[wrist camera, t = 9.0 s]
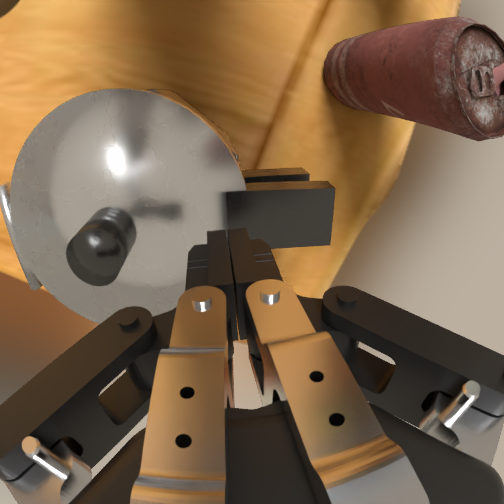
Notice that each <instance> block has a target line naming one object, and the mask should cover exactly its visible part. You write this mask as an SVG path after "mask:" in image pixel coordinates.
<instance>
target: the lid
mask: <svg viewBox="0 0 504 504" xmlns="http://www.w3.org/2000/svg"><path fill="white" fill-rule="evenodd" d="M334 198H335V188H334V187H333V186H332V185H331V184H330V183H329V182H328V181H288V182H261V183H245V180H244V177H243V174H242V172H241V169H240V167H239V165H238V162H237V160H236V158H235V157H234V155H233V153H232V152H231V150H230V148H229V147H228V145H227V144H226V142H225V141H224V140H223V139H222V137H221V136H220V135H219V134H218V132H217V131H216V130H215V129H214V128H213V127H212V126H211V125H210V124H209V123H208V122H207V121H206V120H205V119H204V118H202V117H201V116H200V115H199V114H197V113H196V112H194V111H193V110H191V109H190V108H189V107H187V106H186V105H184V104H182V103H180V102H178V101H176V100H174V99H172V98H169V97H167V96H164V95H161V94H157V93H154V92H151V91H145V90H138V89H105V90H99V91H94V92H89V93H86V94H83V95H80V96H78V97H75V98H72V99H71V100H69V101H67V102H65V103H63V104H62V105H60V106H58V107H57V108H56V109H54V110H53V111H52V112H50V113H49V114H48V115H47V116H45V117H44V118H43V119H42V121H41V122H40V123H39V124H38V125H37V126H36V127H35V128H34V129H33V131H32V132H31V134H30V135H29V137H28V138H27V140H26V141H25V143H24V145H23V147H22V149H21V151H20V153H19V155H18V158H17V161H16V164H15V167H14V170H13V175H12V180H11V186H10V182H9V181H8V182H5V183H2V184H0V207H1V210H2V213H3V217H4V220H5V223H6V226H7V229H8V232H9V235H10V238H11V241H12V244H13V246H14V249H15V252H16V254H17V257H18V259H19V262H20V264H21V267H22V269H23V272H24V274H25V276H26V279H27V281H28V283H29V285H30V287H31V289H32V290H36V289H39V288H40V287H41V286H42V285H43V286H44V287H45V288H46V289H47V290H48V291H49V292H50V293H51V294H52V295H53V296H54V297H55V298H56V299H57V300H59V301H60V302H61V303H63V304H64V305H65V306H66V307H68V308H69V309H71V310H73V311H74V312H76V313H78V314H79V315H81V316H83V317H85V318H87V319H89V320H91V321H93V322H96V323H98V324H101V323H102V322H103V321H105V320H106V319H107V318H109V317H110V316H111V315H112V314H114V313H115V312H117V311H118V310H120V309H123V308H126V307H131V306H139V307H143V308H146V309H147V310H149V311H150V312H151V314H152V317H153V316H156V315H159V314H162V313H165V312H168V311H170V310H172V309H174V308H175V307H177V303H178V299H179V297H180V296H181V295H182V294H183V293H184V292H185V285H186V272H187V262H188V261H187V259H188V252H189V251H190V250H191V248H192V247H193V246H194V245H200V244H207V231H214V230H225V229H226V235H227V229H236V228H246V229H247V232H248V236H249V239H250V240H254V239H262V240H263V241H264V242H266V243H267V244H268V245H269V246H270V249H274V248H290V247H307V246H323V245H330V241H331V231H332V221H333V210H334ZM227 242H228V236H227Z"/></svg>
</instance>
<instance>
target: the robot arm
mask: <svg viewBox="0 0 504 504" xmlns="http://www.w3.org/2000/svg"><path fill="white" fill-rule="evenodd" d="M227 236H228V242H227ZM187 261H188V262H187V272H186V285H185V292H184V293H183V294H182V295H181V296H180V297H179V299H178V303H177V307H175V308H174V309H172V310H170V311H168V312H165V313H162V314H159V315H156V316H153V317H152V314H151V312H150V311H149V310H147V309H146V308H143V307H139V306H131V307H126V308H123V309H120V310H118V311H117V312H115V313H114V314H112V315H111V316H110V317H109V318H107V319H106V320H105V321H103V322H102V323H101V324H100V325H98V326H97V327H96V328H94V329H93V330H92V331H91V332H89V333H88V334H87V335H86V336H84V337H83V338H82V339H80V340H79V341H78V342H77V343H75V344H74V345H73V346H72V347H70V348H69V349H68V350H66V351H65V352H64V353H63V354H62V355H60V356H59V357H58V358H57V359H55V360H54V361H53V362H52V363H50V364H49V365H48V366H47V367H45V368H44V369H43V370H42V371H41V372H39V373H38V374H37V375H36V376H35V377H33V378H32V379H31V380H30V381H28V382H27V383H26V384H25V385H24V386H23V387H22V388H20V389H19V390H18V391H17V392H16V393H14V394H13V395H12V396H11V397H10V398H8V399H7V400H6V401H5V402H4V403H3V404H2V405H0V479H1V480H2V481H3V482H4V483H5V484H6V486H7V487H8V489H9V490H10V492H11V494H12V495H13V497H14V498H15V500H16V501H17V503H18V504H504V485H503V482H502V479H501V477H500V476H499V474H498V473H497V472H496V470H495V469H494V468H493V467H491V464H492V461H493V458H494V455H495V452H496V449H497V445H498V442H499V438H500V434H501V431H502V427H503V423H504V355H501V354H499V353H497V352H495V351H493V350H491V349H489V348H486V347H484V346H482V345H480V344H477V343H476V342H473V341H471V340H469V339H467V338H465V337H463V336H460V335H458V334H456V333H454V332H452V331H450V330H447V329H445V328H443V327H440V326H439V325H436V324H434V323H432V322H430V321H428V320H425V319H423V318H421V317H419V316H417V315H414V314H412V313H410V312H408V311H406V310H403V309H401V308H399V307H397V306H394V305H392V304H390V303H388V302H386V301H384V300H381V299H379V298H377V297H375V296H372V295H370V294H368V293H366V292H363V291H361V290H359V289H357V288H354V287H350V286H336V287H332V288H330V289H328V290H327V291H326V292H325V293H324V295H323V299H317V298H307V297H302V296H299V295H296V294H295V292H294V290H293V289H292V287H291V286H290V285H288V284H287V283H285V282H283V280H282V277H281V275H280V272H279V269H278V267H277V264H276V262H275V260H274V257H273V254H272V252H271V249H270V246H269V245H268V244H267V243H266V242H264V241H263V240H262V239H254V240H250V239H249V236H248V232H247V229H246V228H236V229H227V235H226V229H225V230H214V231H207V244H200V245H194V246H193V247H192V248H191V250H190V251H189V252H188V259H187ZM236 316H237V320H236ZM237 322H238V329H239V335H240V340H243V339H247V342H248V348H249V359H250V363H251V367H252V370H253V374H254V377H255V381H256V384H257V387H258V391H259V394H260V398H261V401H262V405H263V407H261V408H258V409H254V410H248V409H239V408H235V406H234V380H233V357H232V356H233V353H234V347H233V341H235V340H238V332H237ZM359 341H360V342H362V343H364V344H366V345H367V346H369V347H371V348H373V349H375V350H378V351H379V352H381V353H383V354H385V355H388V356H389V357H391V358H392V359H393V360H394V362H395V364H396V365H393V364H390V363H388V362H386V361H384V360H382V359H380V358H378V357H376V356H374V355H372V354H370V353H369V352H367V351H365V350H363V349H361V348H359V347H358V344H359ZM124 369H126V372H125V373H124V374H123V375H122V376H121V377H119V378H118V379H117V380H116V381H115V382H114V383H113V384H112V385H111V386H110V387H109V388H107V389H106V390H105V391H104V392H103V393H102V394H101V395H100V396H99V394H100V392H101V390H102V389H103V388H104V387H106V386H107V385H108V384H109V383H110V382H111V381H112V380H113V379H114V378H115V377H117V376H118V375H119V374H120V373H121V372H122V371H123V370H124ZM98 396H99V397H98ZM369 402H370V403H369ZM147 413H148V418H147V425H146V428H144V429H142V430H141V431H139V432H138V433H137V434H136V435H134V436H133V437H132V438H131V439H130V440H129V441H128V442H127V443H126V444H125V446H123V447H122V449H121V450H120V451H119V452H118V453H117V454H116V455H115V456H114V457H113V458H112V459H111V460H110V461H109V462H108V464H106V466H105V467H104V468H103V469H102V470H101V471H100V472H99V473H98V474H97V475H96V476H95V477H94V478H93V479H92V472H91V469H92V468H93V467H94V466H95V465H96V464H97V463H98V462H99V461H100V460H101V459H102V458H103V457H104V456H105V455H106V454H107V453H108V452H109V451H110V450H111V449H112V448H113V447H114V446H115V445H116V444H118V442H120V440H122V439H123V438H124V437H125V435H127V434H128V433H129V432H130V431H131V430H132V429H133V428H134V427H135V425H137V424H138V422H139V421H140V420H141V419H142V418H143V417H144V416H145V415H146V414H147ZM392 414H393V415H392ZM394 415H395V416H394ZM396 416H397V417H396ZM399 418H400V419H399ZM401 419H402V420H401ZM403 420H404V421H403ZM405 421H407V422H408V423H410V424H412V425H414V426H416V427H418V428H420V430H419V429H418V428H416V427H414V426H412V425H410V424H408V423H406V422H405Z"/></svg>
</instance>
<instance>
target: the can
mask: <svg viewBox="0 0 504 504" xmlns="http://www.w3.org/2000/svg"><path fill="white" fill-rule="evenodd" d="M324 75H325V79H326V82H327V86H328V87H329V89H330V90H331V92H332V94H333V95H334V96H335V97H336V98H337V99H338V100H339V101H340V102H341V103H342V104H344V105H346V106H348V107H350V108H353V109H358V110H364V111H369V112H374V113H379V114H383V115H388V116H392V117H397V118H401V119H405V120H409V121H413V122H417V123H421V124H424V125H428V126H431V127H435V128H439V129H441V130H445V131H448V132H452V133H454V134H457V135H460V136H463V137H466V138H470V139H473V140H476V141H482V140H487V139H494V138H498V137H502V136H503V135H504V42H503V41H502V39H501V38H500V37H499V36H498V34H497V33H496V32H494V31H493V30H492V29H490V28H489V27H487V26H486V25H483V24H479V23H478V22H476V21H474V20H472V19H469V18H464V17H450V18H442V19H434V20H428V21H421V22H416V23H410V24H405V25H400V26H395V27H391V28H386V29H382V30H378V31H374V32H370V33H366V34H363V35H359V36H356V37H352V38H349V39H345V40H343V41H341V42H339V43H337V44H335V45H334V46H333V47H332V49H331V50H330V51H329V52H328V54H327V57H326V60H325V62H324Z"/></svg>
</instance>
